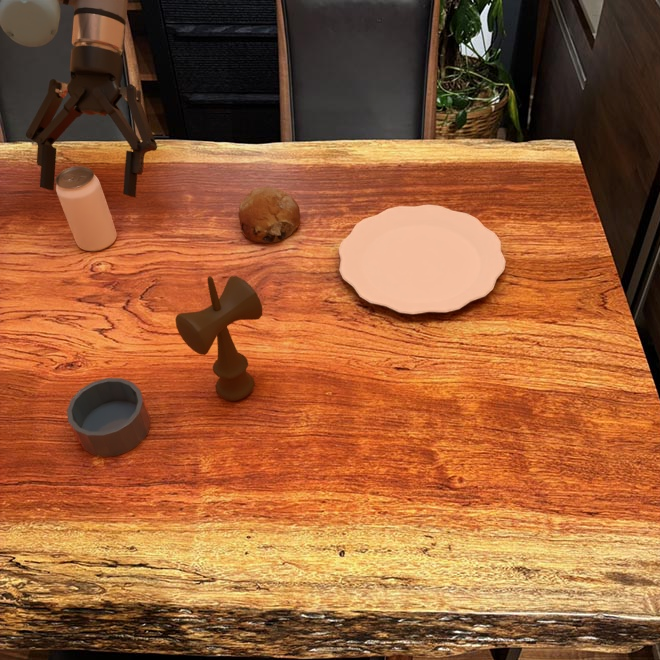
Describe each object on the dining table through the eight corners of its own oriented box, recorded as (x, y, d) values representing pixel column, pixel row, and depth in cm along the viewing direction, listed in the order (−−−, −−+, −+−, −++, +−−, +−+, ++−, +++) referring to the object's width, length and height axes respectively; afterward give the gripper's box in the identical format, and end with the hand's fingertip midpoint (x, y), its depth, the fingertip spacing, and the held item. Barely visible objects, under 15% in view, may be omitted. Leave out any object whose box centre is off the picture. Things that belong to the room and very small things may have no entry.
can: (87, 225, 131) (64, 162, 122) (124, 229, 130) (103, 166, 121) (69, 250, 127) (44, 187, 118) (107, 255, 126) (85, 191, 117)
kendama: (277, 379, 108) (258, 266, 93) (223, 421, 104) (193, 310, 89) (248, 358, 111) (224, 245, 96) (193, 398, 106) (160, 286, 91)
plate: (438, 195, 134) (438, 186, 133) (537, 278, 120) (539, 268, 119) (309, 251, 126) (308, 241, 124) (399, 347, 112) (399, 337, 110)
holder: (63, 442, 102) (51, 420, 99) (107, 391, 108) (98, 369, 104) (122, 466, 99) (112, 445, 96) (164, 413, 105) (156, 391, 102)
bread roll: (306, 233, 134) (307, 185, 131) (290, 248, 125) (291, 197, 122) (249, 228, 136) (249, 180, 132) (229, 242, 126) (228, 191, 123)
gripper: (185, 64, 125) (174, 202, 126) (35, 55, 128) (26, 189, 129) (166, 47, 117) (154, 194, 119) (7, 38, 120) (-2, 181, 122)
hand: (87, 192), depth 124 cm, fingers open, 13 cm apart
